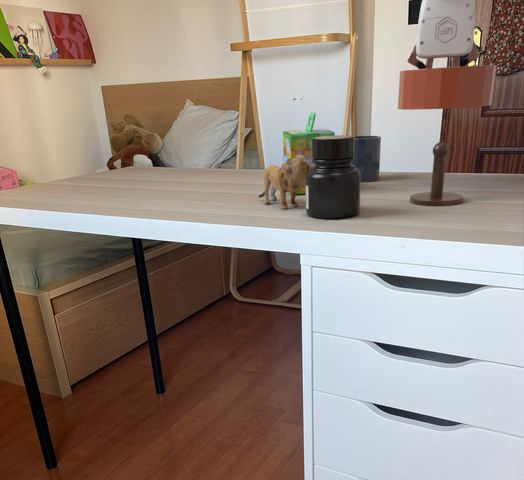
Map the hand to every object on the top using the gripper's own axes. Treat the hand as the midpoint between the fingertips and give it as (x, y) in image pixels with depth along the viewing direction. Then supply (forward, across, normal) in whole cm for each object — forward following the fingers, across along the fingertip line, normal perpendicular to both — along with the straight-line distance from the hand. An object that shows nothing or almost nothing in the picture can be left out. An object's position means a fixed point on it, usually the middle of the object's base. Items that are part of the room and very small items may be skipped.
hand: (439, 97), depth 104 cm
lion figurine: (+16, -27, -22) cm, 39 cm away
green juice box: (+16, -25, -8) cm, 31 cm away
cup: (+16, -15, +6) cm, 23 cm away
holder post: (+16, 0, -20) cm, 26 cm away
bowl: (+1, 0, -9) cm, 9 cm away
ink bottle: (+16, -17, -30) cm, 39 cm away
